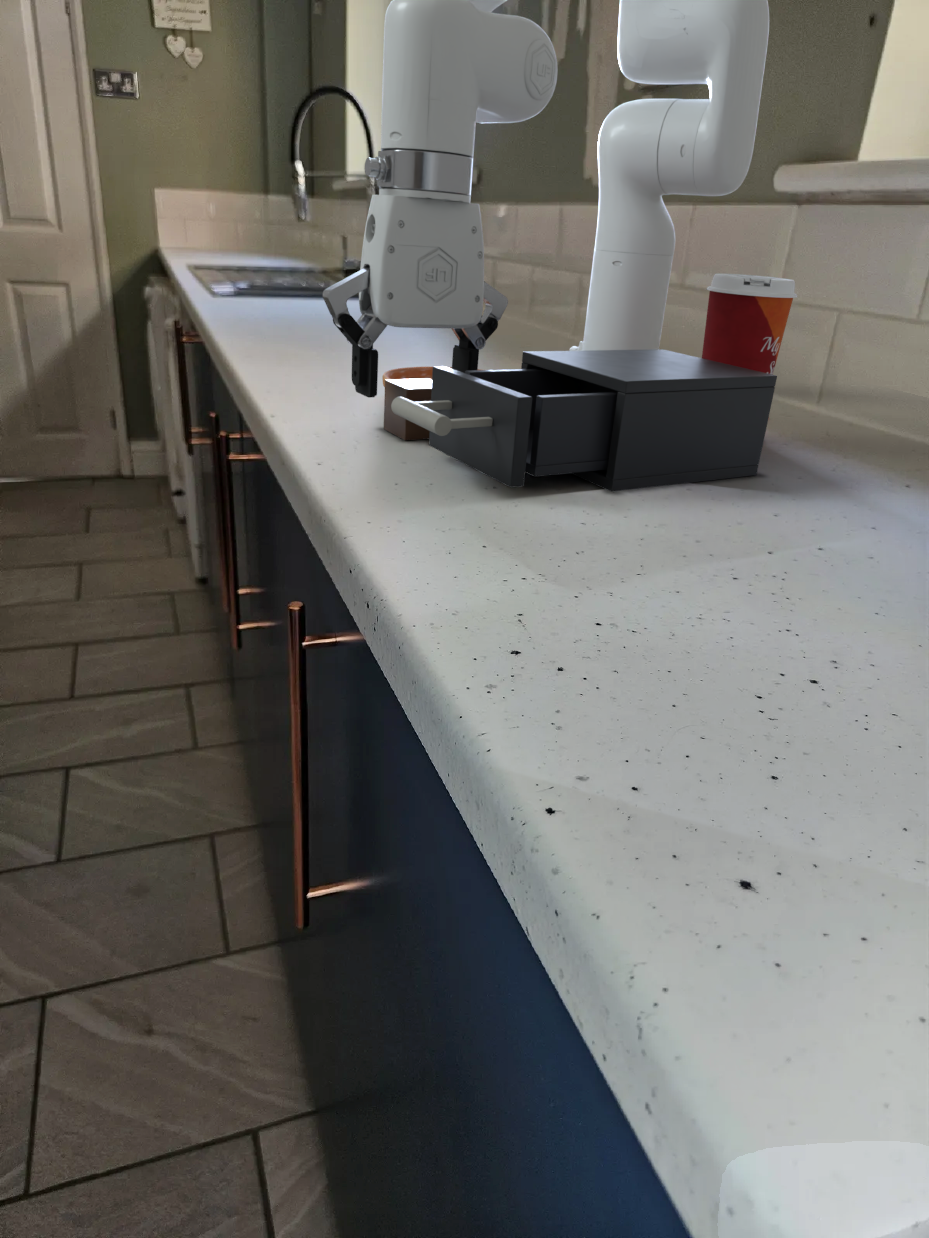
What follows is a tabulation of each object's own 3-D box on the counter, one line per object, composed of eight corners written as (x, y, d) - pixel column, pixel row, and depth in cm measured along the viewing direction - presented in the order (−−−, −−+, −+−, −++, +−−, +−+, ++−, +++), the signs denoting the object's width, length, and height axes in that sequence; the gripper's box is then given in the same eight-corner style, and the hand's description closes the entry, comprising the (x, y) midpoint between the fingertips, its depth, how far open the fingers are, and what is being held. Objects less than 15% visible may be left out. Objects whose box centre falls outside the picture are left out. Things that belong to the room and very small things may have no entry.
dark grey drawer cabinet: (611, 491, 67) (627, 381, 63) (513, 448, 77) (522, 351, 74) (756, 475, 74) (777, 375, 71) (649, 437, 85) (663, 349, 81)
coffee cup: (770, 451, 83) (807, 282, 76) (683, 441, 84) (711, 275, 78) (761, 432, 90) (793, 278, 84) (680, 424, 91) (706, 271, 85)
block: (383, 429, 80) (384, 379, 79) (426, 426, 83) (428, 378, 81) (404, 441, 77) (406, 389, 75) (449, 437, 79) (452, 387, 77)
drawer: (450, 494, 60) (456, 400, 57) (374, 449, 70) (376, 367, 67) (664, 471, 69) (677, 390, 67) (570, 435, 79) (578, 362, 76)
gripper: (345, 169, 64) (341, 404, 71) (538, 190, 72) (518, 399, 79) (308, 170, 70) (308, 387, 77) (491, 189, 78) (476, 384, 85)
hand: (415, 393), depth 78 cm, fingers open, 9 cm apart
